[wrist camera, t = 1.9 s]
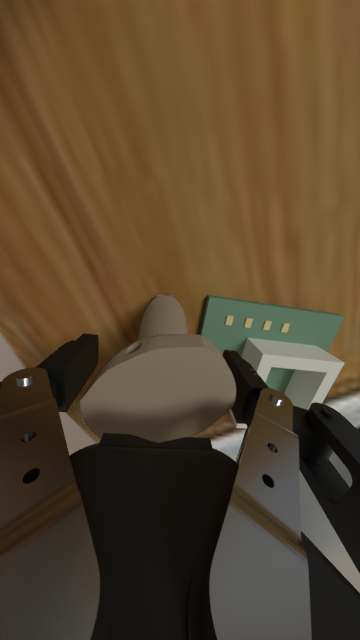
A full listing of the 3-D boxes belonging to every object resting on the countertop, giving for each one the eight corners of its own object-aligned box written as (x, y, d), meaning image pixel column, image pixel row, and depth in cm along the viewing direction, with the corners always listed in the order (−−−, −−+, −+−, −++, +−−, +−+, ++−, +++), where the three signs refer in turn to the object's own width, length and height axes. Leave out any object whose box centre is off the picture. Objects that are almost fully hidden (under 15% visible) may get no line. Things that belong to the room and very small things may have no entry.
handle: (196, 311, 22) (249, 414, 8) (150, 332, 22) (122, 463, 8) (180, 275, 20) (211, 323, 6) (131, 299, 21) (55, 392, 7)
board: (207, 295, 21) (210, 297, 20) (338, 314, 23) (346, 317, 22) (185, 397, 26) (186, 403, 25) (293, 405, 29) (298, 411, 27)
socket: (247, 337, 22) (263, 354, 19) (316, 345, 24) (344, 362, 20) (224, 408, 26) (234, 433, 23) (284, 412, 28) (303, 436, 24)
